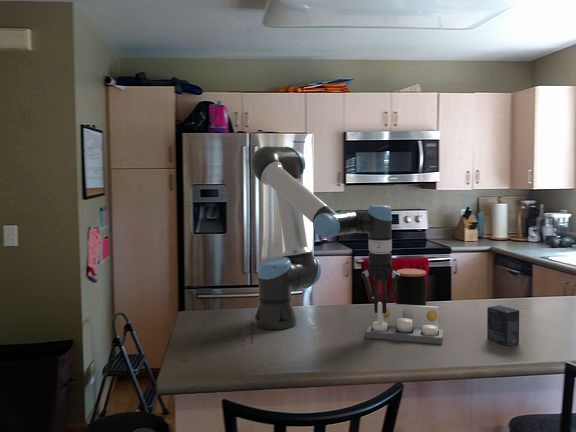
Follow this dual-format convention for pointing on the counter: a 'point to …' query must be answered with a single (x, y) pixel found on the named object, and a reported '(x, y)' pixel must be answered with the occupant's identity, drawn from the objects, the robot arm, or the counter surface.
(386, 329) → the button left
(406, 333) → the board
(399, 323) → the button mid
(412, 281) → the coffee jar
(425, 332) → the button right
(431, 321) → the pattern card
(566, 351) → the counter surface
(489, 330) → the box
